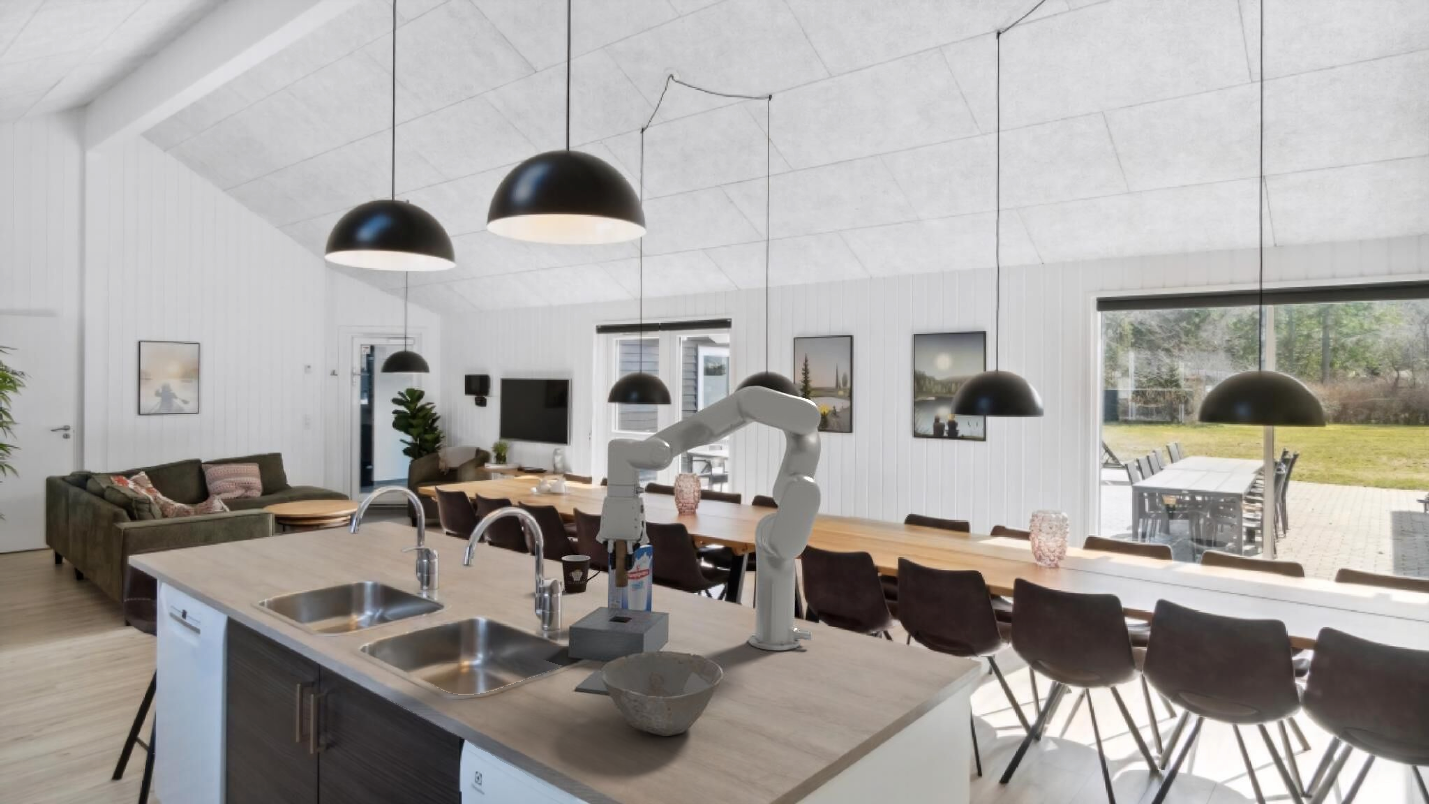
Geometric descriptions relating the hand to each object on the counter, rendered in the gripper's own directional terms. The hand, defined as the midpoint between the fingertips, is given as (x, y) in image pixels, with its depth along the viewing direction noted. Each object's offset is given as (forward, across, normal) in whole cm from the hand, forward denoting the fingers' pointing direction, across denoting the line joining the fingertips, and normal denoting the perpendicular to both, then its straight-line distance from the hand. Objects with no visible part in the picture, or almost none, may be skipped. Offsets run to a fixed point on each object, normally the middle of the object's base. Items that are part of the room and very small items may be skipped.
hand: (621, 568), depth 184 cm
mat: (+19, -6, +22) cm, 30 cm away
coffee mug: (+19, +32, -48) cm, 61 cm away
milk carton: (+19, +6, -22) cm, 30 cm away
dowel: (+4, 0, 0) cm, 4 cm away
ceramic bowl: (+19, -23, +38) cm, 48 cm away
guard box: (+19, 0, 0) cm, 19 cm away
